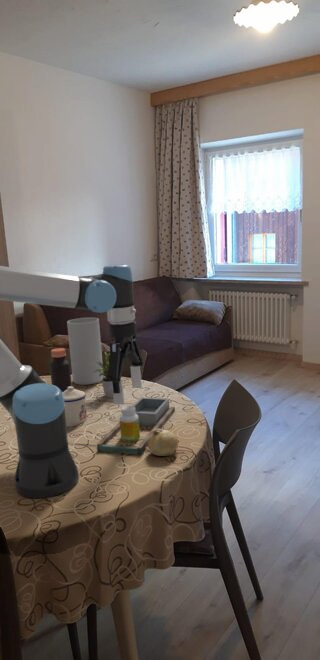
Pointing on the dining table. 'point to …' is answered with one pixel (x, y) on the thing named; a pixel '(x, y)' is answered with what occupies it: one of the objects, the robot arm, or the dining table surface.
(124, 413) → the supplement bottle
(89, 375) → the cylinder vase
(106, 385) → the house plant
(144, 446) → the bay
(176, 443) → the onion
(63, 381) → the vinegar
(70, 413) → the teacup with lid
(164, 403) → the box
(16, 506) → the dining table surface
